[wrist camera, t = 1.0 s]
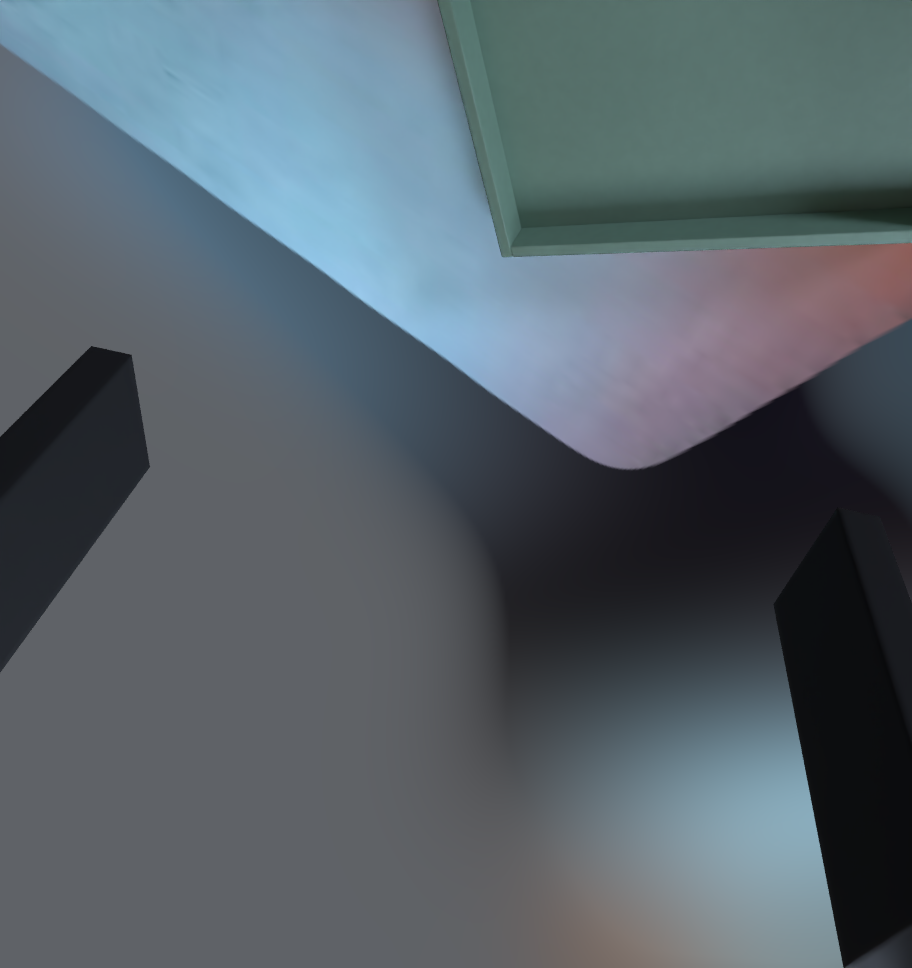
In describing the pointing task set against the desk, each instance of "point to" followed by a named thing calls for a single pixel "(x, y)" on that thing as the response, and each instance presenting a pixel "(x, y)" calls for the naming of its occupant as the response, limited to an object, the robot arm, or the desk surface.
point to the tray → (688, 122)
